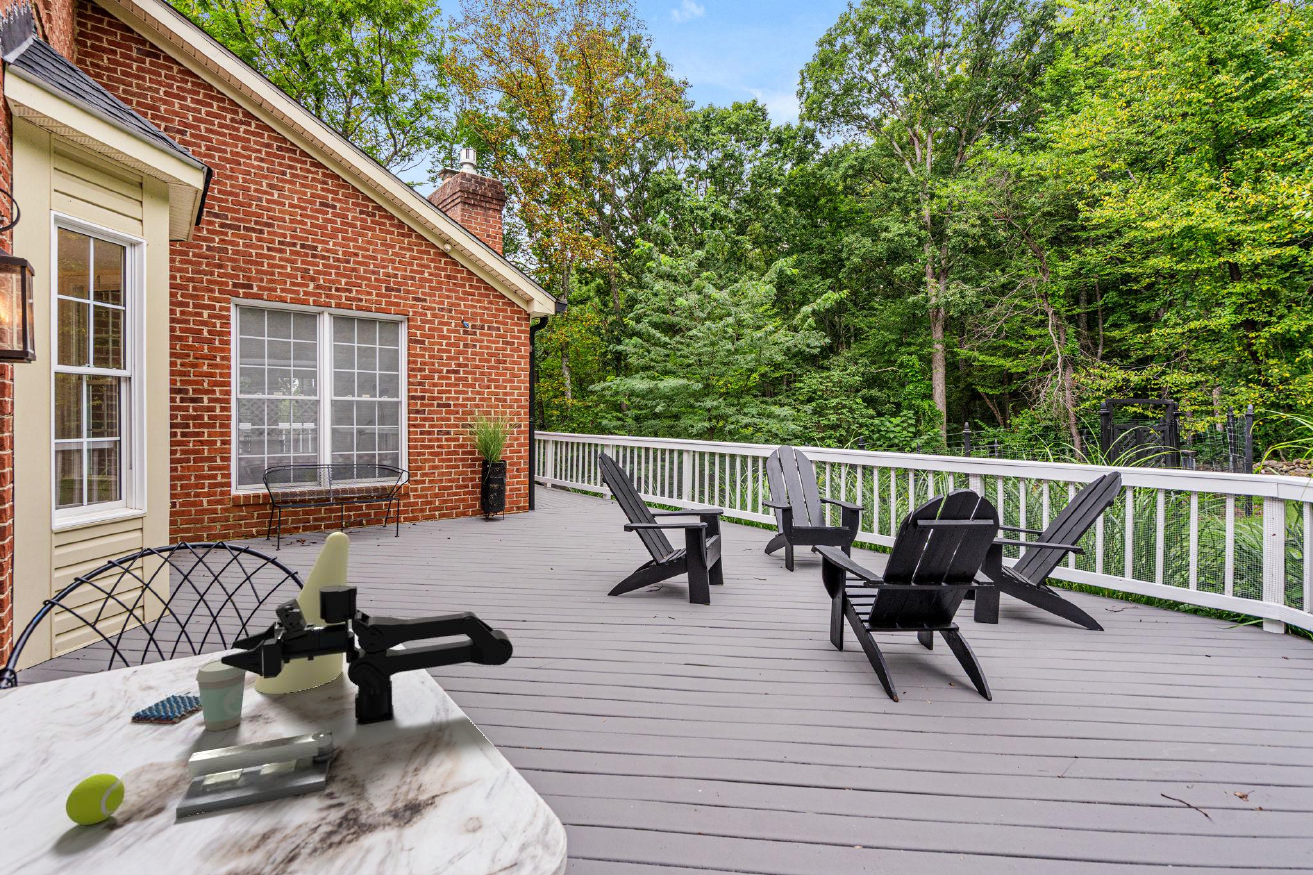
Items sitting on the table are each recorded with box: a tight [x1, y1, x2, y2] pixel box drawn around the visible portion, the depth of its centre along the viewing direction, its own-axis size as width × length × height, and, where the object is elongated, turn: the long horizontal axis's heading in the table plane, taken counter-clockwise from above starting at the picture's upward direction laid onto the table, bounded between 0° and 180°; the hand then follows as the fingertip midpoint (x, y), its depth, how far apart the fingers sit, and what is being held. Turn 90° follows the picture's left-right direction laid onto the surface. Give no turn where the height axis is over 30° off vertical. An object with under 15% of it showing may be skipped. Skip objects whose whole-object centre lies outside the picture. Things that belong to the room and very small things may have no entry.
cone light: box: [253, 531, 351, 695], centre depth 152 cm, size 25×18×35 cm
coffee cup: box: [195, 658, 248, 732], centre depth 129 cm, size 8×8×12 cm
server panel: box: [175, 749, 334, 819], centre depth 110 cm, size 21×16×2 cm
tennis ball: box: [65, 773, 125, 826], centre depth 98 cm, size 7×7×7 cm
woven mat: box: [130, 694, 202, 724], centre depth 136 cm, size 10×11×2 cm
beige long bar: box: [187, 730, 334, 779], centre depth 110 cm, size 21×3×3 cm, turn 112°
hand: (227, 652), depth 123 cm, fingers open, 9 cm apart
